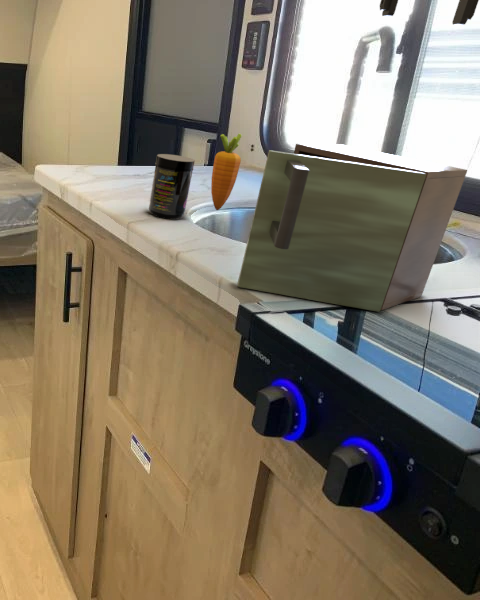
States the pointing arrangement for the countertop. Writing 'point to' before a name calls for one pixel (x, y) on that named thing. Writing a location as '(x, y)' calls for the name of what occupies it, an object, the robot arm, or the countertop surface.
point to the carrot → (225, 171)
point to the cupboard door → (328, 229)
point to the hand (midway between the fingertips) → (422, 20)
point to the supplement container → (170, 186)
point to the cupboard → (425, 221)
